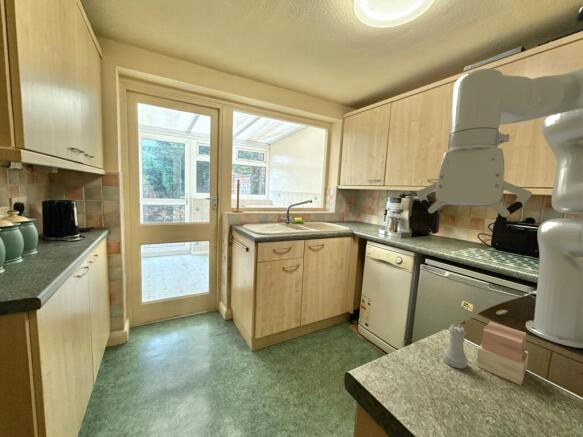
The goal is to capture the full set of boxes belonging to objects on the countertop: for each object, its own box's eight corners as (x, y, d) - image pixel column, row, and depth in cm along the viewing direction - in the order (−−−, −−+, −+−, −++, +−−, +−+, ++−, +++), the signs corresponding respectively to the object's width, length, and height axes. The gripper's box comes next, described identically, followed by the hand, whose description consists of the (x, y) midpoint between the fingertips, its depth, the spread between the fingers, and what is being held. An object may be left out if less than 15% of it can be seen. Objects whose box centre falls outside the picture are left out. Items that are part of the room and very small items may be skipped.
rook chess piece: (471, 371, 51) (474, 333, 50) (447, 367, 52) (450, 330, 51) (461, 358, 55) (464, 323, 55) (439, 355, 56) (442, 320, 55)
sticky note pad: (485, 353, 57) (487, 320, 56) (526, 370, 52) (530, 333, 51) (476, 366, 52) (479, 329, 52) (521, 385, 47) (525, 344, 47)
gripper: (534, 143, 43) (524, 240, 44) (424, 152, 54) (418, 230, 55) (540, 132, 37) (529, 244, 38) (416, 145, 48) (409, 232, 49)
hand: (463, 236), depth 47 cm, fingers open, 9 cm apart
